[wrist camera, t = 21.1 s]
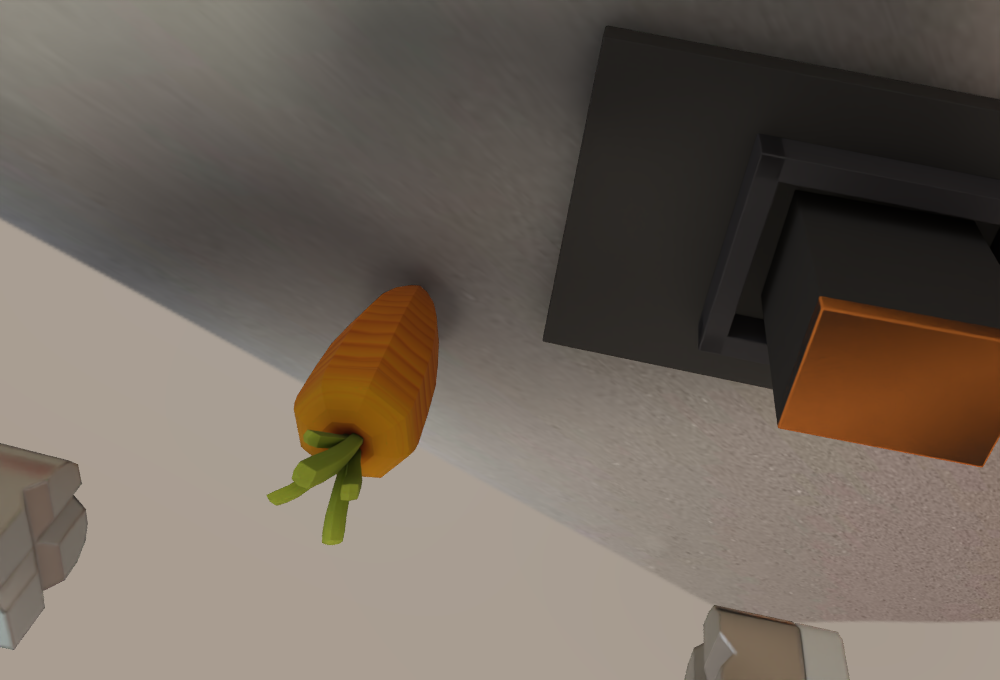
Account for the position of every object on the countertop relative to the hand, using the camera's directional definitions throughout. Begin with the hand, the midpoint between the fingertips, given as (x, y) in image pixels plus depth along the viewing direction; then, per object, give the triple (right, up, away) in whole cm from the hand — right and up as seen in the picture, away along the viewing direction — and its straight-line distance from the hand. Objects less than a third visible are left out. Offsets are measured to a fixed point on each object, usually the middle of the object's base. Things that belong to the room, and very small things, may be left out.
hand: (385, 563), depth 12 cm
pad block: (+16, +6, +26) cm, 32 cm away
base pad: (+13, +7, +28) cm, 32 cm away
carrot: (-2, +5, +33) cm, 33 cm away
